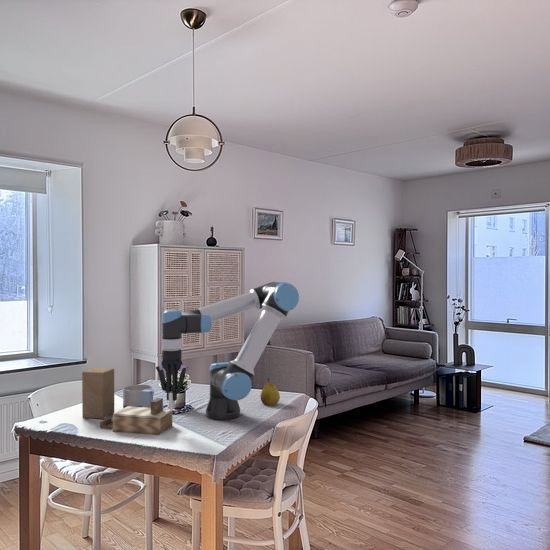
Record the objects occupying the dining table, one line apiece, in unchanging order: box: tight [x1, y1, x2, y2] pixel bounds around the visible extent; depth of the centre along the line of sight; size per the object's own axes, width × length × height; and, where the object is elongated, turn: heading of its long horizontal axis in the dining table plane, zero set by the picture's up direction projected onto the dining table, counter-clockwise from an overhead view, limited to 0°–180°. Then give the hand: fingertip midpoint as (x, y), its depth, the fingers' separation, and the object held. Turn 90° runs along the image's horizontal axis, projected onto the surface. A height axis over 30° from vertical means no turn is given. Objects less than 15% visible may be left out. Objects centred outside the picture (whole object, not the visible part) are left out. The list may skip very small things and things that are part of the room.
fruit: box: [260, 377, 281, 407], centre depth 248 cm, size 9×9×12 cm
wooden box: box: [112, 411, 173, 436], centre depth 210 cm, size 20×12×6 cm, turn 77°
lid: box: [112, 397, 173, 419], centre depth 210 cm, size 20×11×6 cm, turn 77°
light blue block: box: [142, 389, 155, 408], centre depth 225 cm, size 5×3×12 cm, turn 77°
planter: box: [122, 384, 153, 409], centre depth 237 cm, size 13×13×10 cm
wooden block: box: [81, 367, 115, 420], centre depth 229 cm, size 10×10×20 cm
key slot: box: [99, 416, 113, 430], centre depth 213 cm, size 7×7×2 cm
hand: (171, 408), depth 207 cm, fingers closed
